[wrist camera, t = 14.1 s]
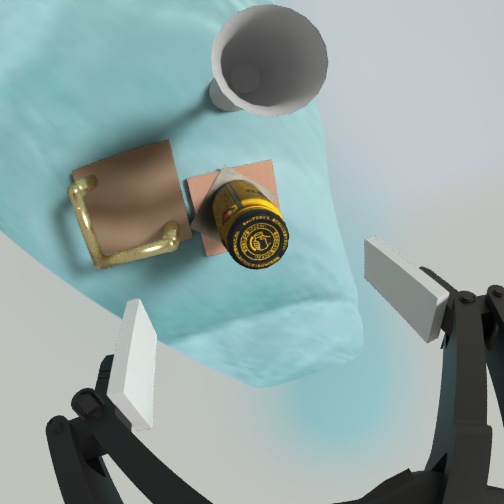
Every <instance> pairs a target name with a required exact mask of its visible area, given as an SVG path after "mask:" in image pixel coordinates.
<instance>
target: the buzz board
mask: <svg viewBox="0 0 504 504" xmlns="http://www.w3.org/2000/svg"><path fill="white" fill-rule="evenodd" d="M72 174H73V178H74V181H75V182H76V181H78V180H80V179H81V178H83V177H85V176H87V175H89V174H92V175H95V176H96V178H97V180H98V183H97V186H96V187H95V188H94V189H93V190H91V191H90V192H89V193H87V194H86V195H85V196H83V197H84V200H85V203H86V206H87V209H88V212H89V215H90V218H91V221H92V224H93V227H94V230H95V233H96V235H97V238H98V241H99V244H100V246H101V249H102V251H103V254H104V255H107V254H110V253H114V252H117V251H121V250H124V249H128V248H132V247H135V246H139V245H143V244H146V243H150V242H154V241H158V240H161V239H162V237H163V233H164V229H165V225H166V223H167V222H168V221H170V220H175V221H177V222H178V223H179V225H180V235H179V242H182V241H186V240H190V239H193V233H192V229H191V228H190V222H189V218H188V215H187V211H186V207H185V203H184V199H183V195H182V191H181V187H180V183H179V179H178V175H177V171H176V167H175V163H174V159H173V155H172V150H171V146H170V142H169V139H168V140H164V141H160V142H157V143H153V144H150V145H146V146H143V147H140V148H136V149H133V150H130V151H127V152H123V153H120V154H117V155H114V156H111V157H108V158H105V159H103V160H100V161H97V162H94V163H91V164H89V165H86V166H83V167H81V168H78V169H75V170H73V171H72Z"/></svg>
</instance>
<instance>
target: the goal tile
mask: <svg viewBox="0 0 504 504" xmlns="http://www.w3.org/2000/svg"><path fill="white" fill-rule="evenodd" d="M231 169H233V170H235V171H236V172H238V173H240V174H242V175H244V176H245V177H247V178H249V179H251V180H252V181H254V182H256V183H258V184H259V185H261V186H263V187H264V188H266V189H268V190H270V191H271V192H273V193H275V194H276V195H277V188H276V182H275V176H274V170H273V164H272V160H266V161H261V162H256V163H251V164H246V165H242V166H237V167H232V168H231ZM220 172H221V170H219V171H215V172H211V173H206V174H202V175H198V176H194V177H190V178H187V181H188V185H189V189H190V193H191V197H192V201H193V205H194V209H195V213H196V214H197V212H198V210H199V208H200V207H201V205H202V203H203V201H204V199H205V197H206V196H207V194H208V192H209V191H210V189H211V187H212V185H213V184H214V182H215V180H216V178H217V177H218V175H219V173H220ZM272 203H273V204H275V206H276V207H277V208H278V210H279V211H280V207H279V201H278V195H277V196H276V197H275V199H274V200H273V202H272ZM201 236H202V240H203V244H204V248H205V251H206V255H207V257H208V256H212V255H216V254H220V253H224V252H228V251H227V250H226V249H225V247H224V246H223V244H222V243H220V242H218V241H216V240H214V239H212V238H210V237H208V236H206V235H203V234H201Z"/></svg>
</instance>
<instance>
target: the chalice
mask: <svg viewBox="0 0 504 504" xmlns="http://www.w3.org/2000/svg"><path fill="white" fill-rule="evenodd" d="M211 61H212V68H213V75H214V77H215V78H214V79H213V80H212V82H211V84H210V88H209V94H210V98H211V100H212V102H213V104H214V105H216V106H217V107H218V108H219V109H222V110H224V111H229V112H234V111H239V110H241V109H242V110H246V111H248V112H250V113H252V114H256V115H263V116H270V117H274V116H280V115H286V114H291V113H293V112H295V111H297V110H299V109H301V108H303V107H304V106H306V105H307V104H308V103H309V102H310V101H311V100H312V99H313V98H314V97H315V96H316V95H317V94H318V93H319V91H320V89H321V87H322V85H323V83H324V81H325V79H326V73H327V67H328V57H327V51H326V45H325V43H324V41H323V39H322V37H321V35H320V33H319V31H318V30H317V28H316V27H314V25H312V23H311V22H310V21H309V20H308V19H307V18H306V17H304V16H303V15H301V14H299V13H298V12H295V11H294V10H292V9H290V8H286V7H282V6H277V5H273V4H271V5H258V6H252V7H250V8H247V9H245V10H242V11H240V12H238V13H236V14H235V15H234V16H233V17H231V18H230V19H229V20H228V21H227V22H226V23H224V24H223V26H222V28H221V29H220V31H219V33H218V34H217V36H216V38H215V40H214V44H213V49H212V54H211Z"/></svg>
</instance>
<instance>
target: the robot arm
mask: <svg viewBox="0 0 504 504" xmlns="http://www.w3.org/2000/svg"><path fill="white" fill-rule="evenodd" d="M364 246H365V274H364V276H365V277H364V278H365V279H366V280H367V281H368V282H369V283H370V284H371V285H372V286H373V287H374V288H375V289H376V290H377V291H378V292H379V293H380V294H381V295H382V296H383V297H384V298H385V299H386V300H387V301H388V302H389V303H390V304H391V305H392V307H394V309H395V310H396V311H397V312H398V313H399V314H400V315H401V316H402V317H403V318H404V319H405V320H406V321H407V322H408V323H409V324H410V325H411V326H412V328H413V329H414V330H415V331H416V332H417V333H418V334H419V335H420V336H421V337H422V338H423V340H424V341H425V342H426V343H429V342H431V341H433V340H435V339H437V338H438V336H439V333H440V329H442V330H443V331H444V332H445V335H444V339H443V342H442V345H441V349H442V348H443V368H442V381H441V391H440V400H439V408H438V416H437V422H436V429H435V434H434V440H433V445H432V450H431V454H430V457H429V460H428V462H427V464H426V467H425V470H424V471H417V472H411V471H410V469H409V468H408V469H407V470H405V471H403V472H401V473H399V474H397V475H395V476H393V477H391V478H389V479H387V480H385V481H384V482H382V483H381V484H380V485H378V486H377V487H376V488H375V489H373V490H372V491H371V492H369V493H368V494H366V495H365V496H364V497H362V498H361V499H358V500H353V501H348V502H341V503H334V504H504V489H502V488H497V487H493V486H488V485H487V480H488V473H489V466H490V456H491V446H492V445H491V444H492V427H491V426H488V425H487V373H486V363H487V366H488V369H489V373H490V375H491V379H492V382H493V386H494V389H495V393H496V397H497V400H498V404H499V408H500V412H501V416H502V421H503V426H504V288H503V287H502V286H499V285H492V286H490V287H489V288H488V290H487V294H486V295H482V296H476V295H475V294H473V293H471V292H469V291H460V292H458V291H457V290H456V289H454V288H453V287H452V286H451V285H449V284H448V283H447V282H445V281H444V280H443V279H441V278H440V277H439V276H437V275H436V274H435V273H434V272H433V271H431V270H430V269H427V268H425V267H419V268H418V267H417V266H416V265H414V264H413V263H411V262H410V261H409V260H408V259H406V258H405V257H404V256H402V255H401V254H400V253H398V252H397V251H396V250H394V249H393V248H392V247H390V246H389V245H387V244H386V243H385V242H383V241H382V240H381V239H379V238H378V237H376V236H372V237H368V238H365V239H364ZM156 342H157V334H156V332H155V330H154V328H153V326H152V324H151V322H150V320H149V317H148V315H147V313H146V311H145V309H144V307H143V304H142V302H141V300H140V298H138V299H134V300H130V301H127V304H126V308H125V312H124V316H123V320H122V324H121V328H120V332H119V337H118V341H117V345H116V350H115V354H113V355H107V356H106V357H105V358H104V360H103V361H102V363H101V365H100V369H99V374H98V380H97V382H96V387H95V390H93V389H91V388H85V389H82V390H80V391H79V392H77V393H76V394H75V395H74V397H73V399H72V402H71V406H72V409H73V410H74V411H75V412H76V413H77V414H78V416H79V417H77V418H75V419H72V420H69V421H68V420H67V419H66V418H65V417H64V416H60V415H58V416H55V417H53V418H52V419H50V421H49V422H48V423H47V426H46V436H47V441H48V445H49V450H50V454H51V458H52V462H53V466H54V470H55V474H56V477H57V481H58V484H59V487H60V491H61V494H62V497H63V500H64V502H65V504H124V503H123V501H122V500H121V498H120V495H119V493H118V491H117V489H116V487H115V485H114V483H113V481H112V479H111V477H110V475H109V472H108V470H107V468H106V466H105V463H104V461H103V458H102V455H105V454H109V456H110V457H111V458H112V459H113V460H114V462H115V463H116V464H117V465H118V466H119V468H120V469H121V470H122V471H123V472H124V473H125V475H126V476H127V477H128V478H129V479H130V480H131V481H132V482H133V483H134V485H135V486H136V487H137V488H138V489H139V490H140V491H141V492H142V493H143V494H144V495H145V496H146V497H147V498H148V499H149V500H150V501H151V502H152V503H153V504H213V503H211V502H210V501H209V500H207V499H206V498H205V497H203V496H202V495H201V494H199V493H198V492H197V491H196V490H194V489H193V488H192V487H191V486H189V485H188V484H187V483H185V482H184V481H183V480H182V479H181V478H180V477H178V476H177V475H176V474H175V473H174V472H173V471H172V470H170V469H169V468H168V467H167V466H166V465H165V464H163V462H161V461H160V460H159V459H158V458H157V457H156V456H155V455H154V454H153V453H152V452H151V451H150V450H149V449H148V448H147V447H146V446H145V445H144V444H143V443H142V442H141V441H140V440H138V438H137V437H136V436H135V435H134V434H133V433H132V432H131V427H132V426H133V427H134V428H135V429H136V430H137V431H142V430H151V429H153V397H154V374H155V373H154V372H155V355H156ZM443 346H444V347H443Z"/></svg>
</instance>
